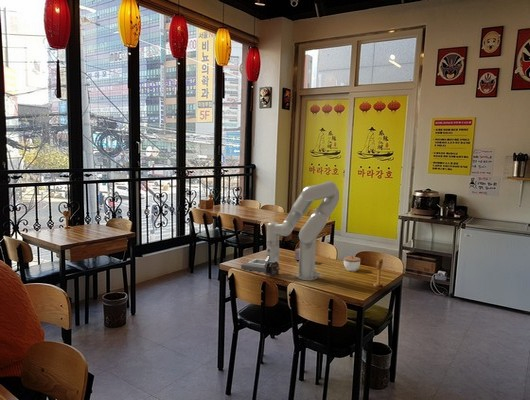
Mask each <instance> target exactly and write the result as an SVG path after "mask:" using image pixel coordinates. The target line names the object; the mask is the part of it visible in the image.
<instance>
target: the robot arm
mask: <svg viewBox="0 0 530 400" xmlns="http://www.w3.org/2000/svg"><path fill="white" fill-rule="evenodd" d="M319 200H322V201H321V202H320V204H319V205H318V206H317V207H316V210H314V211H313V212H312V213H311V215H310V217H309V218H308V219H307V221H306V222H305V224H304V225H303V226H302V227H301V228H300V230H299V233H298V238H299V248H300V249H299V261H298V273H296V274H295V278H296V279H298V280H302V281H315V280H317V279H318V278H321V277H322V274H321V272H317V270H316V252H317V251H316V250H317V249H316V248H317V237H318V236H319V235H320V234H321V231H323V229H324V227H325V226H326V225H327V222H328V219H329V218H330V216H331V215H332V213H333V212H334V211H335V209H336V207H337V206H338V204H339V201H340V191H339V188H338V185H337V184H336V183H335V182H333V181H332V180H331V181H330V180H329V181H328V180H327V181H325V182H323V183H318V184H315V185H307V186H304V188H302V191H301V192H300V194H299V196H298V197H297V199H296V200H295V201H294V203H293V205H292V206H291V209H290V211H289V212H288V214H287V216H286V217H285V219H284V220H283V222H282V223H279V222H278V221H277V222H275V221H271V222H268V223H266V251H265V252H266V253H265V259H264V260H265V263H266V273H270V274H271V264H272V263H274V262H276V263H279V261H280V236H281V237H289V236H290V235H291V233H292V232H293V230H294V228H295V227H296V226H297V224H298V223H299V222H300V220H301V218H302V217H304V216H305V214H306V213H307V211H308V210H309V208H310V207H311V205H312V203H314V201H319ZM270 261H271V262H270ZM269 263H270V264H269Z"/></svg>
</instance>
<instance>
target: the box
mask: <svg viewBox="0 0 530 400" xmlns="http://www.w3.org/2000/svg"><path fill="white" fill-rule="evenodd" d="M269 264H270V263H269ZM279 269H280V263H279V262H278V263H276V262H274V263H272V264H271V274H270V273H266V263H265V273H264V274H265V275H266V276H268V275H269V276H268V277H271V276H272V277H275V275H277V276H279V275H280V270H279Z"/></svg>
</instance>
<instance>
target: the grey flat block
mask: <svg viewBox="0 0 530 400" xmlns="http://www.w3.org/2000/svg"><path fill="white" fill-rule="evenodd" d="M265 260H266V259H261V258H254V259H251V260H249V261H247V262H244V263H242V264H241V265H240V266H241V267H240V269H241V270H242V269H245V270H244V271H248V270H251V271H250V272H254V271H258V272H257V273H260V272H264V273H263V274H265ZM270 262H271V261H270Z"/></svg>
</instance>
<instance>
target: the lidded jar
mask: <svg viewBox="0 0 530 400" xmlns="http://www.w3.org/2000/svg"><path fill="white" fill-rule="evenodd" d="M361 259H362V258H360V257H357V256H354V255H350V256H344V257H343V265H344V268H345V269H346V271H348V272H357V271H358V270H359V268H360V266H361V261H362V260H361Z"/></svg>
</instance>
